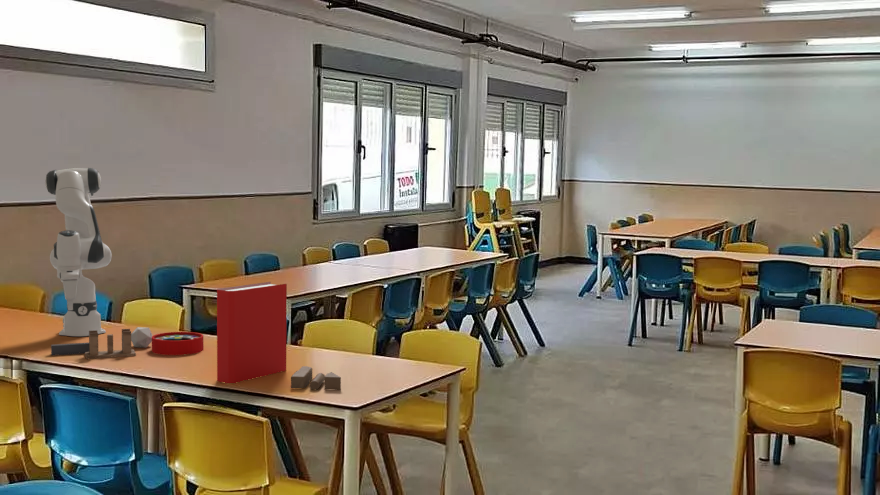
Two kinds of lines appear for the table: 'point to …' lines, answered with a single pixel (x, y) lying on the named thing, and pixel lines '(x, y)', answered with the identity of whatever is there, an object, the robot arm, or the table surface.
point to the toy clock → (177, 343)
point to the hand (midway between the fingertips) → (70, 308)
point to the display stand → (110, 346)
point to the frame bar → (69, 348)
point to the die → (141, 337)
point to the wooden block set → (305, 375)
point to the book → (251, 331)
